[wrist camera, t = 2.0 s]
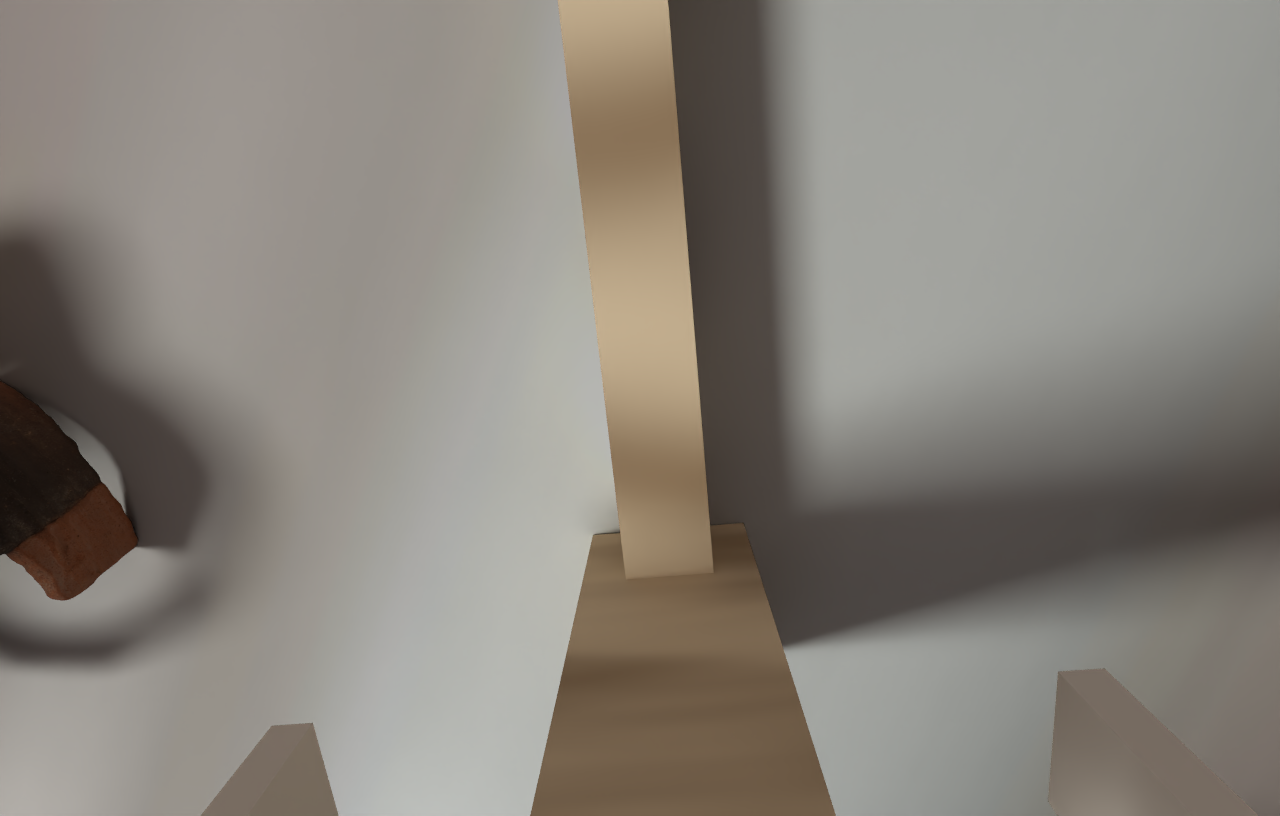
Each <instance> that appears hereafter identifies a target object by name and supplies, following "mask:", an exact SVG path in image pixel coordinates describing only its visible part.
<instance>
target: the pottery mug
mask: <svg viewBox="0 0 1280 816" xmlns="http://www.w3.org/2000/svg"><path fill="white" fill-rule="evenodd" d="M137 542H138V539H137V536H136V535H135V533H134V531H133V526H132V523H131V521H130V520H129V518H128V517H127V516H126V514H125V513H124V511H123V509H122V506H121V504H120V503H119V502H118V501H117V500H116V499H115V498H114V497H113V496H112V494H111V493H110V491H109V489H108V488H107V487H106V485H105V484H103V483H102V482H101V480H100V477H99V475H98V474H97V472H96V471H95V470H94V469H93V468H92V467H91V466H90V465H89V463H88V462H87V461H86V460H85V459H84V458H83V456H82V455H81V454H80V452H79V450H78V446H77V444H76V442H75V441H73V440H72V439H71V438H70V437H68V436H67V435H65V434H64V433H63V432H62V430H61V429H60V428H59V426H58V425H57V424H56V423H55V421H54V420H53V419H52V418H51V417H50V416H48V415H47V414H45V413H44V411H43V410H42V409H41V408H40V407H39V406H38V405H36V404H35V403H33V402H32V401H30V400H29V399H27V398H25V397H24V396H23V395H22V394H21V393H19V392H18V391H16V390H15V389H14V388H12V387H10V386H8V385H7V384H5V383H3V382H1V381H0V555H2V554H6V555H7V556H8V557H9V558H10V559H11V560H13V561H15V562H16V563H18V564H20V565H22V566H23V567H24V568H25V570H26V571H27V572H28V573H29V574H30V575H31V576H32V577H33V578H34V579H35V580H36V581H37V582H38V583H39V584H40V585H41V586H42V588H43V589H44V591H45V593H46V594H47V596H48V597H49V598H51V599H55V600H69V599H71V598H73V597H75V596H77V595H78V594H80V593H81V592H83V591H84V590H86V589H87V588H88V587H89V586H91V585H92V584H93V583H94V582H95V580H96V579H97V578H98V577H99V576H100V575H101V574H102V573H104V572H105V571H106V570H107V569H109V568H110V567H111V566H113V565H114V564H115V563H116V562H118V561H119V560H120V559H121V558H122V557H123V556H124V555H125V554H127V553H128V552H129V551H131V550H132V549H133V548H134V547H135V546H136V545H137Z"/></svg>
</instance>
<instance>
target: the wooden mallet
mask: <svg viewBox="0 0 1280 816" xmlns="http://www.w3.org/2000/svg"><path fill="white" fill-rule="evenodd" d="M558 6H559V14H560V23H561V31H562V40H563V48H564V57H565V65H566V74H567V83H568V91H569V100H570V108H571V117H572V125H573V134H574V142H575V151H576V159H577V168H578V176H579V185H580V193H581V202H582V210H583V219H584V227H585V236H586V244H587V253H588V261H589V270H590V279H591V287H592V296H593V304H594V313H595V321H596V330H597V338H598V347H599V355H600V364H601V372H602V381H603V389H604V398H605V406H606V415H607V423H608V432H609V440H610V449H611V458H612V466H613V475H614V483H615V492H616V500H617V509H618V517H619V526H620V533H612V534H600V535H593V538H592V542H591V547H590V551H589V556H588V560H587V565H586V569H585V574H584V578H583V582H582V587H581V591H580V596H579V600H578V605H577V609H576V614H575V618H574V623H573V627H572V632H571V636H570V641H569V645H568V650H567V654H566V659H565V663H564V667H563V672H562V676H561V681H560V685H559V690H558V694H557V699H556V703H555V708H554V712H553V717H552V721H551V726H550V730H549V735H548V739H547V743H546V748H545V752H544V757H543V761H542V766H541V770H540V775H539V779H538V784H537V788H536V793H535V797H534V802H533V806H532V811H531V815H530V816H836V815H835V812H834V808H833V805H832V802H831V799H830V796H829V793H828V789H827V786H826V783H825V780H824V777H823V773H822V770H821V767H820V764H819V761H818V758H817V754H816V751H815V748H814V745H813V742H812V739H811V735H810V732H809V729H808V726H807V723H806V720H805V716H804V713H803V710H802V707H801V704H800V701H799V697H798V694H797V691H796V688H795V685H794V682H793V678H792V675H791V672H790V669H789V666H788V663H787V659H786V656H785V653H784V650H783V647H782V644H781V640H780V637H779V634H778V631H777V628H776V625H775V621H774V618H773V615H772V612H771V609H770V606H769V602H768V599H767V596H766V593H765V590H764V587H763V583H762V580H761V577H760V574H759V571H758V567H757V564H756V561H755V558H754V555H753V552H752V548H751V545H750V542H749V539H748V536H747V533H746V529H745V526H744V523H735V524H723V525H710V520H709V508H708V495H707V483H706V470H705V458H704V445H703V433H702V420H701V408H700V395H699V383H698V370H697V358H696V345H695V333H694V320H693V308H692V295H691V283H690V270H689V257H688V245H687V232H686V220H685V207H684V195H683V182H682V170H681V157H680V145H679V132H678V120H677V107H676V95H675V82H674V70H673V57H672V45H671V32H670V20H669V7H668V0H558Z"/></svg>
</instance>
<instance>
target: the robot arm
mask: <svg viewBox="0 0 1280 816" xmlns="http://www.w3.org/2000/svg"><path fill="white" fill-rule="evenodd" d="M1048 802H1049V804H1050V805H1051V807H1052V808H1053V809H1054V811H1055V812H1056V814H1057V815H1058V816H1258V815H1257V814H1256V813H1255V812H1254V811H1253V810H1252V809H1251V808H1250V807H1249V806H1248V805H1247V804H1246V803H1245V802H1244V801H1243V800H1242V799H1241V798H1240V797H1239V796H1238V795H1236V794H1235V793H1234V792H1233V791H1232V790H1231V789H1230V788H1229V787H1228V786H1227V785H1226V784H1225V783H1224V782H1223V781H1222V780H1221V779H1220V778H1219V777H1218V776H1217V775H1216V774H1214V773H1213V772H1212V771H1211V770H1210V769H1209V768H1208V767H1207V766H1206V765H1205V764H1204V763H1203V762H1202V761H1201V760H1200V759H1199V758H1198V757H1197V756H1196V755H1195V754H1194V753H1192V752H1191V751H1190V750H1189V749H1188V748H1187V747H1186V746H1185V745H1184V744H1183V743H1182V742H1181V741H1180V740H1179V739H1178V738H1177V737H1176V736H1175V735H1174V734H1173V733H1172V732H1170V731H1169V730H1168V729H1167V728H1166V727H1165V726H1164V725H1163V724H1162V723H1161V722H1160V721H1159V720H1158V719H1157V718H1156V717H1155V716H1154V715H1153V714H1152V713H1151V712H1150V711H1148V710H1147V709H1146V708H1145V707H1144V706H1143V705H1142V704H1141V703H1140V702H1139V701H1138V700H1137V699H1136V698H1135V697H1134V696H1133V695H1132V694H1131V693H1130V692H1129V691H1128V690H1126V689H1125V688H1124V687H1123V686H1122V685H1121V684H1120V683H1119V682H1118V681H1117V680H1116V679H1115V678H1114V677H1113V676H1112V675H1111V674H1110V673H1109V672H1108V671H1107V670H1106V669H1104V668H1103V669H1088V670H1074V671H1059V672H1058V680H1057V692H1056V705H1055V718H1054V730H1053V743H1052V756H1051V768H1050V781H1049V794H1048ZM201 816H338V812H337V809H336V805H335V801H334V798H333V794H332V791H331V787H330V783H329V780H328V776H327V773H326V769H325V765H324V762H323V758H322V755H321V751H320V747H319V744H318V740H317V737H316V733H315V729H314V726H313V723H305V724H291V725H276V726H271V727H270V729H269V730H268V731H267V733H266V734H265V735H264V736H263V738H262V739H261V740H260V741H259V743H258V744H257V745H256V746H255V748H254V749H253V750H252V752H251V753H250V754H249V755H248V757H247V758H246V759H245V760H244V762H243V763H242V764H241V765H240V767H239V768H238V769H237V771H236V772H235V773H234V774H233V776H232V777H231V778H230V779H229V781H228V782H227V783H226V784H225V786H224V787H223V788H222V790H221V791H220V792H219V793H218V795H217V796H216V797H215V798H214V800H213V801H212V802H211V803H210V805H209V806H208V807H207V809H206V810H205V811H204V812H203V814H202V815H201Z"/></svg>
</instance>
